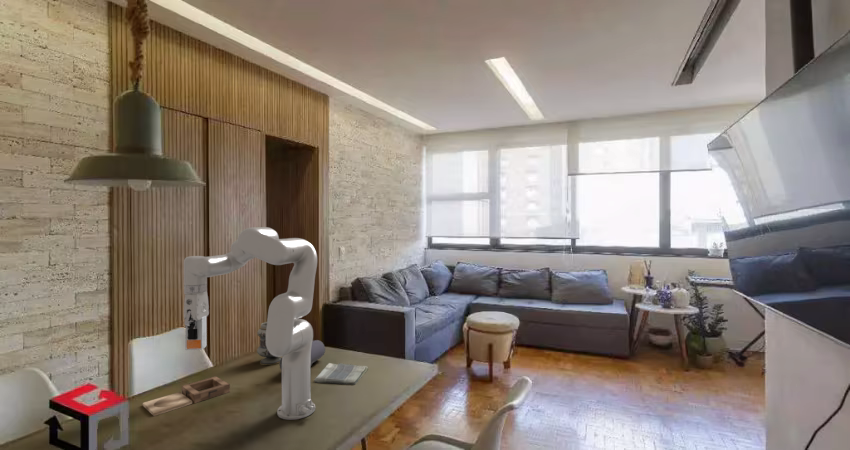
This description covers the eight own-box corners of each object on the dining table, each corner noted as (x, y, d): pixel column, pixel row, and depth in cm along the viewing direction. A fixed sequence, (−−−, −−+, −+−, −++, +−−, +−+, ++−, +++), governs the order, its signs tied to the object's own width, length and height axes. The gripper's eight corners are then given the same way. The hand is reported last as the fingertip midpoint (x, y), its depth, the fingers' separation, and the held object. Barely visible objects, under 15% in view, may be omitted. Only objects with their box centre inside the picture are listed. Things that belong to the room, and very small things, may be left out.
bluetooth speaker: (309, 358, 194) (309, 338, 194) (326, 360, 191) (326, 339, 191) (278, 376, 172) (278, 352, 172) (296, 379, 169) (296, 355, 169)
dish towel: (355, 386, 162) (355, 378, 162) (313, 383, 165) (313, 376, 165) (369, 369, 181) (369, 362, 181) (331, 367, 184) (331, 360, 184)
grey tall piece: (279, 355, 198) (279, 318, 198) (288, 362, 189) (288, 323, 189) (253, 360, 191) (253, 322, 190) (262, 368, 181) (261, 328, 181)
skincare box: (185, 350, 150) (184, 318, 150) (190, 346, 155) (190, 315, 154) (202, 349, 151) (202, 317, 151) (207, 346, 155) (206, 315, 155)
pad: (192, 403, 146) (192, 400, 146) (153, 416, 137) (153, 412, 137) (179, 394, 154) (179, 391, 154) (142, 405, 145) (142, 402, 145)
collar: (229, 392, 156) (229, 384, 156) (194, 403, 146) (194, 395, 146) (215, 383, 164) (215, 376, 164) (181, 393, 155) (181, 386, 155)
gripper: (194, 292, 144) (195, 344, 144) (216, 285, 161) (216, 331, 161) (172, 293, 144) (173, 344, 144) (196, 285, 161) (197, 331, 161)
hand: (196, 336), depth 153 cm, fingers closed on skincare box, 4 cm apart
